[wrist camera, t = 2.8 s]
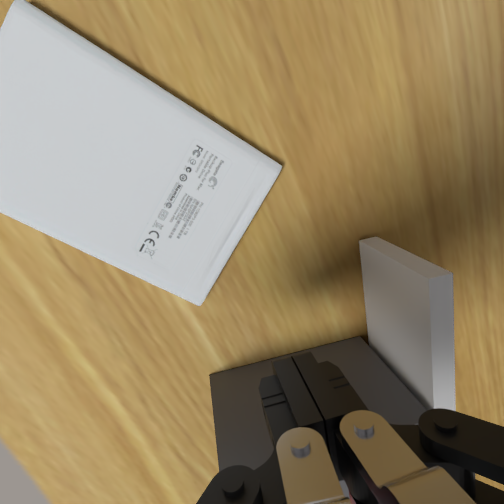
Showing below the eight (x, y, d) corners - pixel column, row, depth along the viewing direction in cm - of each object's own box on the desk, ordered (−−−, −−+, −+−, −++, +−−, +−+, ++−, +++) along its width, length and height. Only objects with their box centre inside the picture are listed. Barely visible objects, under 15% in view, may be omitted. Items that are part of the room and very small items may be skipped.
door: (357, 240, 20) (426, 279, 14) (387, 233, 20) (467, 269, 14) (381, 489, 25) (439, 591, 19) (405, 482, 25) (468, 581, 20)
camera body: (209, 375, 21) (222, 499, 14) (359, 336, 22) (447, 432, 15) (251, 542, 25) (279, 709, 18) (377, 503, 26) (453, 645, 19)
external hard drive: (31, 7, 16) (277, 164, 19) (-46, 179, 17) (198, 297, 20) (15, -8, 14) (285, 166, 18) (-70, 182, 15) (199, 310, 19)
